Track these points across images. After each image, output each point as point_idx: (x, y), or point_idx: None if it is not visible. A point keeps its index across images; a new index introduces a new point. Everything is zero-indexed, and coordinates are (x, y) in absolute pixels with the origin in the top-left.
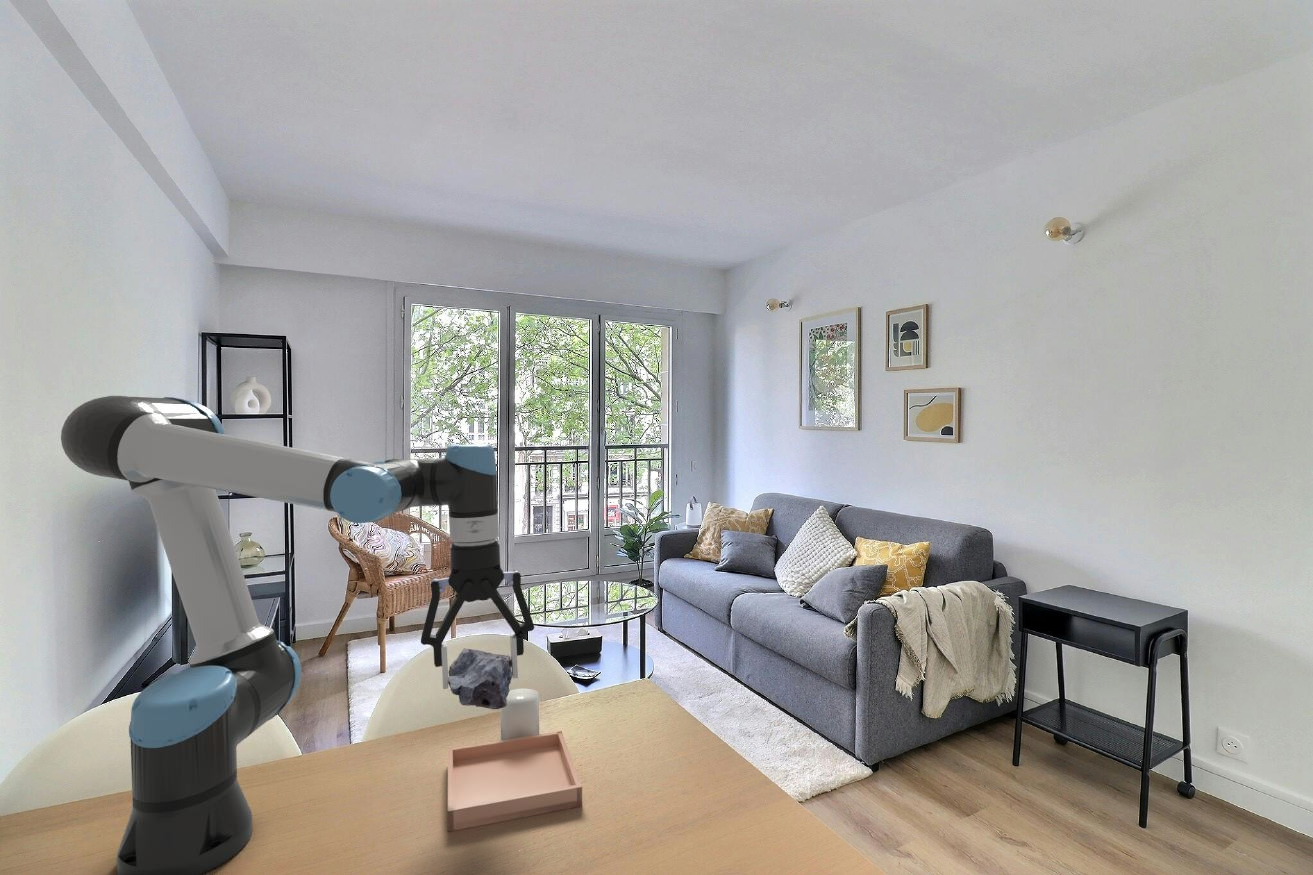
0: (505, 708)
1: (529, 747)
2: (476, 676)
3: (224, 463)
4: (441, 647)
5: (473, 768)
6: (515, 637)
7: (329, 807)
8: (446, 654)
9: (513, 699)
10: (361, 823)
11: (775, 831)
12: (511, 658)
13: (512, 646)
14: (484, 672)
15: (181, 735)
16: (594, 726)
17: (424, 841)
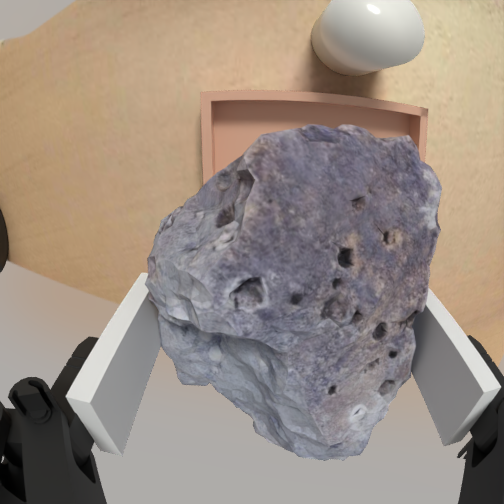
0: (340, 41)
1: (363, 107)
2: (264, 408)
3: None
4: (100, 449)
5: (252, 139)
6: (462, 437)
7: (52, 180)
8: (130, 425)
9: (366, 28)
10: (98, 229)
11: (490, 346)
12: (424, 333)
13: (434, 417)
14: (289, 444)
15: None
16: (467, 69)
17: None
